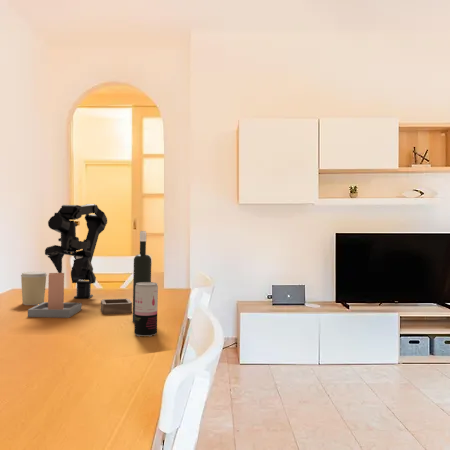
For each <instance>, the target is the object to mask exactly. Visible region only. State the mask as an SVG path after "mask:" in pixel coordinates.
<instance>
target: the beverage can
mask: <svg viewBox="0 0 450 450" xmlns="http://www.w3.org/2000/svg"><path fill="white" fill-rule="evenodd" d="M158 297H159V285H158V283H157V282H153V281H151V282H139V283H136V286H135V323H134V332H133V333H134V334H135V336H137V337H140V336H149V337H153V336H152V335H154V336H156V335H157V333H158V303H159V301H158V300H159V298H158Z"/></svg>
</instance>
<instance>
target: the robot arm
mask: <svg viewBox="0 0 450 450" xmlns="http://www.w3.org/2000/svg"><path fill="white" fill-rule="evenodd" d="M84 215H85V216H84ZM83 216H84V220H85V222H86V228H87V229H88V231H87V234H86V237H85V239H83V241H82V240H80V238H79V237H78V236H77V234H76V233H77V232H76V230H77V229H76V228H77V227H78V224H77V223H76V222H75V221H77V220H79V219H80V218H82V217H83ZM107 224H108V217H107V215H106V214H105V212H104V211H103V210H101V208H99V206H98V205H97V204H95V203H87V204H83V205H78V204H62V205H61V206H60V209H59V210H58V211H57V212H54V214H53V215H52V216H51V217H50V218H49V220H48V221H47V225H48V228H49V229H50V230H52V231H55V232H57V233H60V237H59V238H58V242H60V245H58V244H57V245H55V244H54V245H50V246H48V247H46V248H45V249H44V256H47V258H49V259H50V261H51V263H52V264H53V266H54V267H55V269H56V271H57V273H63V258H64V256H70V257H71V256H73V258H74V259H73V263H72V267H71V270H70V278H71V283H72V284H76V295H75V296H73V299H90V298H92V297H93V296H94V295H93V294H91V290H92V289H91V286H92V285H91V284H96V280H97V277H96V275H95V272H94V267H93V264H92V262H93V261H92V260H93V256H94V253H95V249H96V247H97V246H96V245H97V243H98V239H99V235H101V233H103V231H105V228H106V226H107Z"/></svg>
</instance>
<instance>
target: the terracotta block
mask: <svg viewBox="0 0 450 450" xmlns="http://www.w3.org/2000/svg"><path fill="white" fill-rule="evenodd" d="M47 284H48V285H47V286H48V292H47V293H48V294H47V295H48V296H47V300H48V301H47V302H48V309H64V303H65V301H64V300H65V272H62V273H58V272H49V273H48V283H47Z"/></svg>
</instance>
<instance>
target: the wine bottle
mask: <svg viewBox="0 0 450 450" xmlns="http://www.w3.org/2000/svg"><path fill="white" fill-rule="evenodd" d="M132 278H133V284H132V287H133V288H132V323H134V324H135V286H136V283H139V282H152V257H151V256H150V255H149V254H147V231H146V230H140V231H139V254H137V255H135V256H134V258H133V277H132Z"/></svg>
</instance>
